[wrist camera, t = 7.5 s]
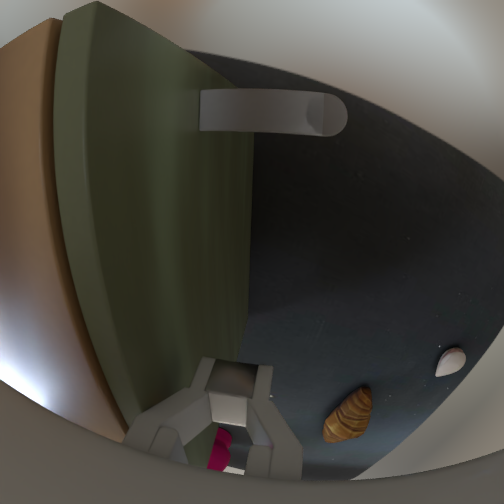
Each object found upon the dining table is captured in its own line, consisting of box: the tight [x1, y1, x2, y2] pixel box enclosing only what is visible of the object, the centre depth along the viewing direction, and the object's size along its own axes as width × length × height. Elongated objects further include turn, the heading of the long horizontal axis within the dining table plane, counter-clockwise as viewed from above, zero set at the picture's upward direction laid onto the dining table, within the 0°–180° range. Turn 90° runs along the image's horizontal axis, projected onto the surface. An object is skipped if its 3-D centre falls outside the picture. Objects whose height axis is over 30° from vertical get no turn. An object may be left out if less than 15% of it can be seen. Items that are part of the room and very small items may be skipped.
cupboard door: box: [53, 1, 348, 468], centre depth 17 cm, size 6×22×22 cm, turn 178°
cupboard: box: [0, 18, 129, 443], centre depth 18 cm, size 16×22×22 cm
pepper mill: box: [207, 427, 232, 471], centre depth 34 cm, size 7×7×20 cm
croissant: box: [322, 386, 372, 443], centre depth 34 cm, size 14×7×5 cm, turn 168°
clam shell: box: [436, 348, 466, 376], centre depth 29 cm, size 4×5×2 cm
